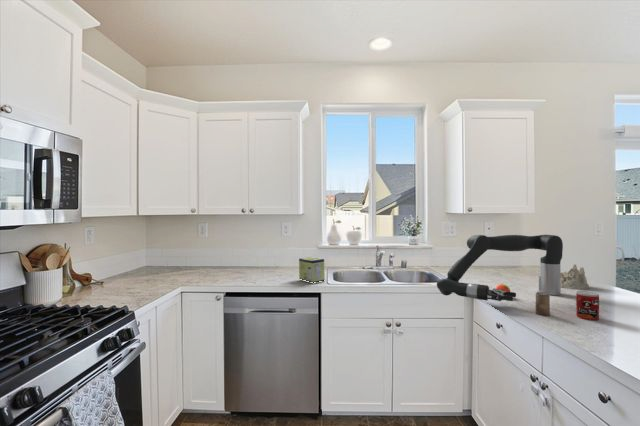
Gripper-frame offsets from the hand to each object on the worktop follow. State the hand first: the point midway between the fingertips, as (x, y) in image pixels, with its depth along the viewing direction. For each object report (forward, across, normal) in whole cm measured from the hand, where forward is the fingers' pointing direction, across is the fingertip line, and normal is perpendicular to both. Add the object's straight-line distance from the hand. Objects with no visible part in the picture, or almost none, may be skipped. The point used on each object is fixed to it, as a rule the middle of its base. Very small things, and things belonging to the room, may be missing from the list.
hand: (514, 296), depth 152 cm
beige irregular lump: (+19, +74, +6) cm, 76 cm away
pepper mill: (+11, 0, +6) cm, 13 cm away
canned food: (+27, +6, +6) cm, 28 cm away
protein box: (-119, -12, +6) cm, 120 cm away
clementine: (-8, +21, +6) cm, 24 cm away
